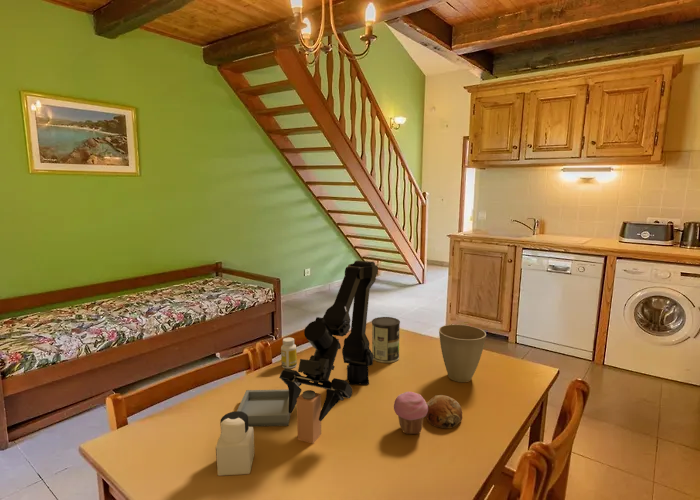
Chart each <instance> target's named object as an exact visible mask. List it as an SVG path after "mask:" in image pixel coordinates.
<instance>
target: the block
mask: <svg viewBox="0 0 700 500" xmlns="http://www.w3.org/2000/svg"><path fill="white" fill-rule="evenodd" d="M321 397H322V393H318V392H315V390H313V389H311V390H310V389H308V390H305V391H303V392H301V393H300V395H299V397H298V398H297V403H296V418H297V421H296V422H297V424H296V425H297V440H298V441H301V442H306V443H308V444H309V443H310V444H313V445H314V444H315V442H317V440H318V439H319V437H320V436H321V435H322V421H319V416H320V412H321V410H322V398H321Z"/></svg>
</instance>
